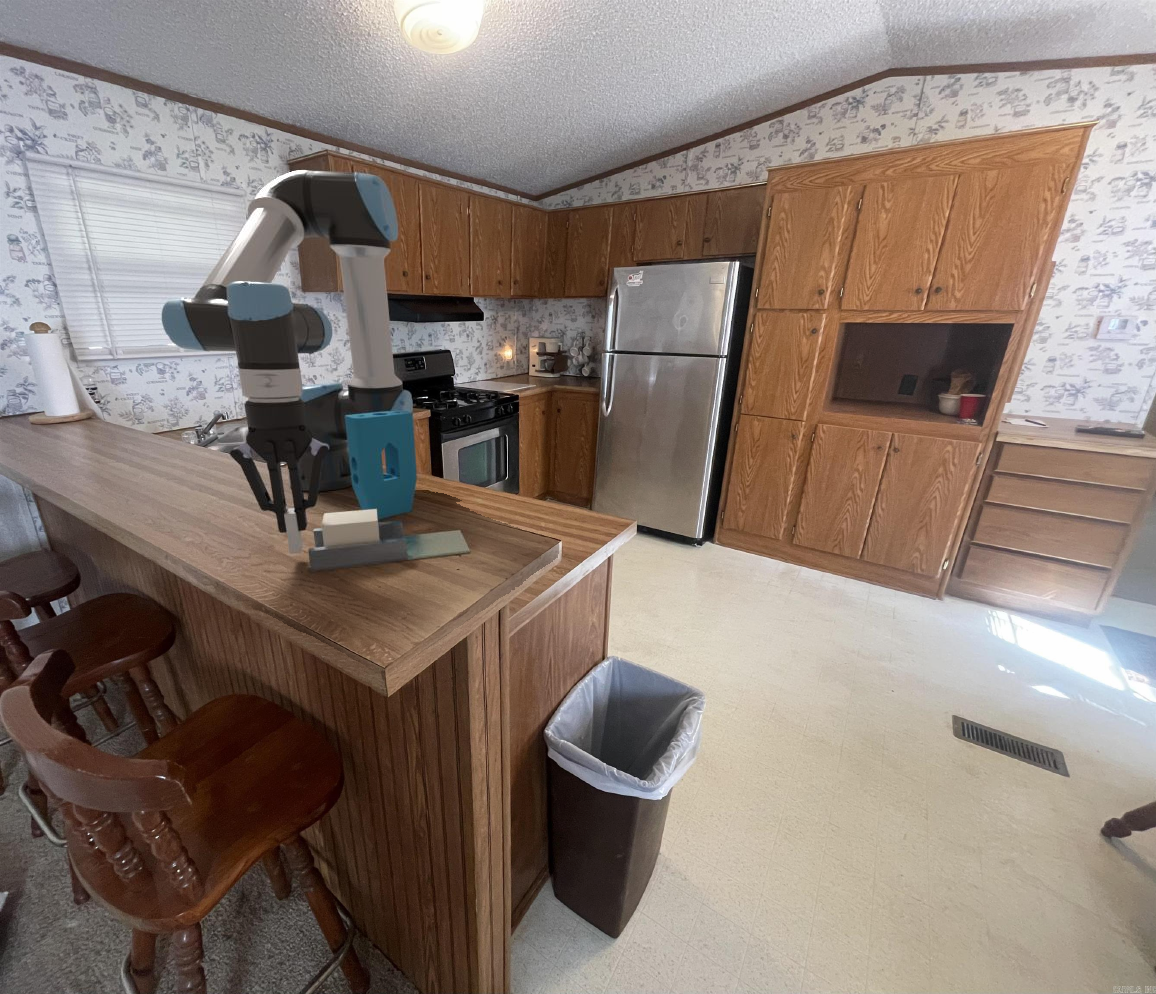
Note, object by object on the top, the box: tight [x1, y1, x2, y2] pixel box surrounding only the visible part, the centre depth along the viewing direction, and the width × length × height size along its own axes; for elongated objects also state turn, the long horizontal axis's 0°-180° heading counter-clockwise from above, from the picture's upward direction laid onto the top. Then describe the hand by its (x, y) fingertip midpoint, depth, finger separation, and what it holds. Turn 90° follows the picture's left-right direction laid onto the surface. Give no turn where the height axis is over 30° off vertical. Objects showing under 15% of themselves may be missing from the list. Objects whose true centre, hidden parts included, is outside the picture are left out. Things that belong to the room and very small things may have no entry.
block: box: [345, 410, 418, 521], centre depth 100 cm, size 12×5×20 cm, turn 141°
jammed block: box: [321, 509, 380, 547], centre depth 82 cm, size 6×8×6 cm
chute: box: [307, 520, 471, 573], centre depth 85 cm, size 10×24×3 cm, turn 112°
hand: (296, 549), depth 80 cm, fingers closed
